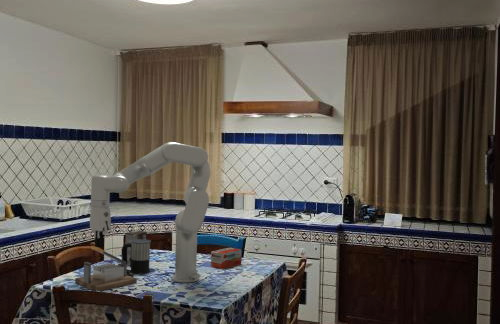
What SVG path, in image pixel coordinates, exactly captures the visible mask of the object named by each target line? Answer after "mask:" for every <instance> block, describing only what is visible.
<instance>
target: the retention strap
mask: <svg viewBox="0 0 500 324" xmlns="http://www.w3.org/2000/svg"><path fill="white" fill-rule="evenodd" d="M90 249H91V250H93V251H96V252H98V253H100V254H102V255H104V256H106V257H108V258H110V259H112V260H115V261H116V262H118V263H123V264H126V261H123V260H122V258H119V257H117V256H115V255H113V254H111V253H109V252H107V251H105V250H104V249H102V248H101V247H95V245H91V246H90Z"/></svg>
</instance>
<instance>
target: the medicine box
mask: <svg viewBox="0 0 500 324" xmlns="http://www.w3.org/2000/svg"><path fill="white" fill-rule="evenodd" d="M242 258H243V257H242V249H239V248H233V247H226V248H222V249H221V248H220V249H218V250H213V251H211V252H210V266H211V268H214V269H220V270H224V269H225V270H226V269H229V268H233V267H237V266H241V265H242Z"/></svg>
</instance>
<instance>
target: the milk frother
mask: <svg viewBox="0 0 500 324" xmlns="http://www.w3.org/2000/svg"><path fill="white" fill-rule="evenodd" d="M131 242H132V243H126V244H123V245H122V247H121V260H123V261H126V264H127V248H128V247H131V259H130V265H129V267H130V269H129V268H127V276H130V277H133V276H134V274H138V275H140V274H148V273H150V259H151V258H150V256H151V255H150V254H151V253H150V252H151V242H152V240H150V239H147V240H145V239H136V240H132V241H131Z"/></svg>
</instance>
